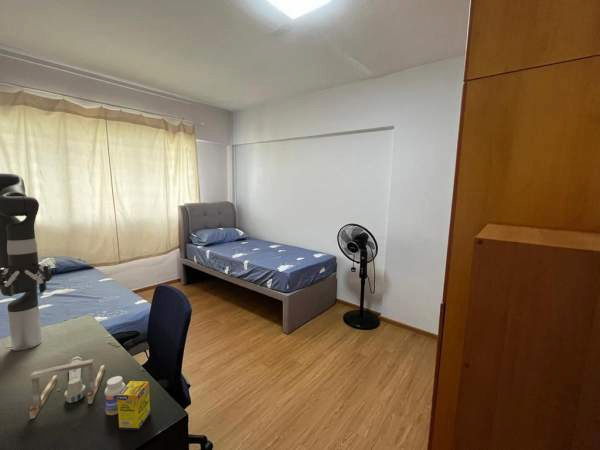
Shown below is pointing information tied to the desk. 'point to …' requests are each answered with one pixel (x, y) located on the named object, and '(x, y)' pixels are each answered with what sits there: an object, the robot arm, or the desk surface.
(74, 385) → the white electric toothbrush
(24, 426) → the desk surface
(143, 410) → the supplement box
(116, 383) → the pill bottle
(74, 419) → the desk surface
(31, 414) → the tan holder stand
